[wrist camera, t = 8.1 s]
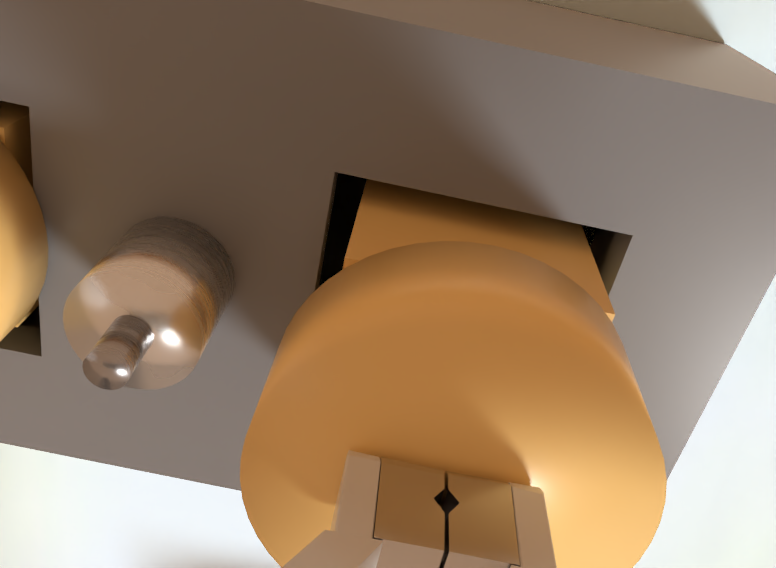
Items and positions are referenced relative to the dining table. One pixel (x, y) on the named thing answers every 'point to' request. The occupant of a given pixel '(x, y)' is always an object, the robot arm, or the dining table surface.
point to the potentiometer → (149, 305)
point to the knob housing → (380, 163)
